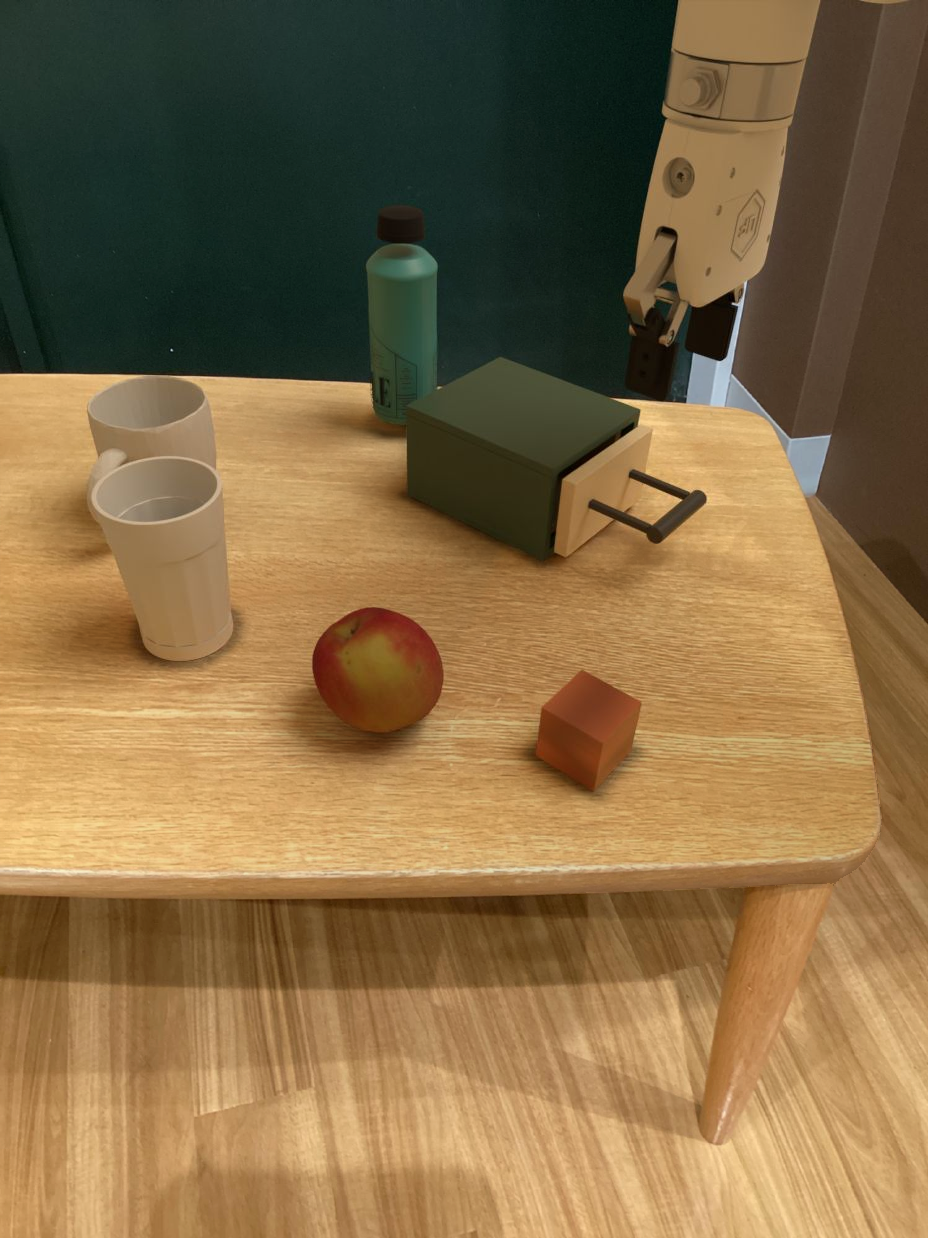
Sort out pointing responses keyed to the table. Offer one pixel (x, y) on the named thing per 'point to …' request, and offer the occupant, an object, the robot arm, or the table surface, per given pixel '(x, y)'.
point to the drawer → (613, 493)
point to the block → (587, 729)
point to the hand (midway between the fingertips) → (676, 372)
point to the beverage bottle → (401, 314)
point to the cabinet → (505, 448)
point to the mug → (149, 424)
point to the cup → (170, 552)
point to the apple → (377, 670)
